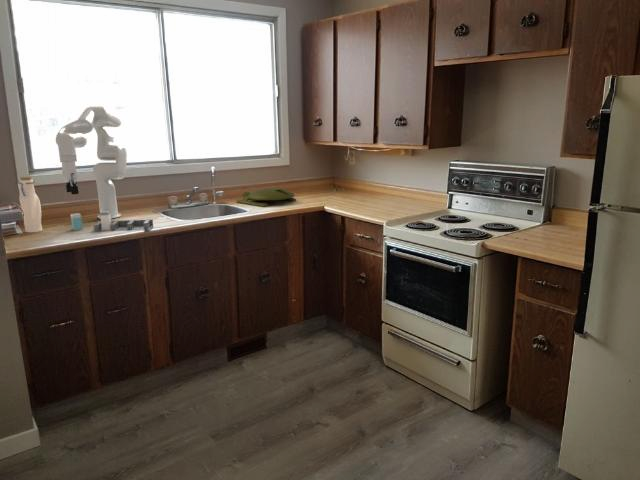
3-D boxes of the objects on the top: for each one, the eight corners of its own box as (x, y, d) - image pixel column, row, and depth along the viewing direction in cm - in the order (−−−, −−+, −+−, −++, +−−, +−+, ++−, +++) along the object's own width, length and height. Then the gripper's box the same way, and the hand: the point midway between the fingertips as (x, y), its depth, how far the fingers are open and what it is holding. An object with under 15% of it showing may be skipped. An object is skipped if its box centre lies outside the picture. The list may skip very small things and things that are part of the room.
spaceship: (234, 203, 341) (233, 188, 338) (268, 197, 363) (267, 183, 361) (270, 209, 318) (270, 193, 316) (304, 202, 341) (304, 187, 338)
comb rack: (98, 228, 268) (97, 221, 267) (153, 226, 272) (152, 219, 271) (91, 234, 257) (90, 226, 256) (149, 231, 260) (148, 223, 259)
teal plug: (72, 231, 263) (70, 214, 261) (80, 230, 266) (78, 213, 264) (74, 232, 260) (72, 215, 258) (83, 231, 263) (80, 214, 260)
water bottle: (41, 232, 261) (33, 178, 254) (21, 234, 259) (13, 178, 252) (45, 228, 271) (38, 175, 264) (26, 229, 268) (18, 176, 261)
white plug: (104, 228, 265) (101, 211, 262) (112, 227, 265) (110, 210, 263) (101, 229, 261) (99, 212, 258) (110, 229, 261) (108, 212, 259)
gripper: (56, 158, 258) (60, 192, 262) (64, 160, 245) (68, 195, 249) (72, 157, 263) (76, 190, 267) (80, 159, 250) (85, 194, 254)
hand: (72, 193), depth 258 cm, fingers open, 9 cm apart
